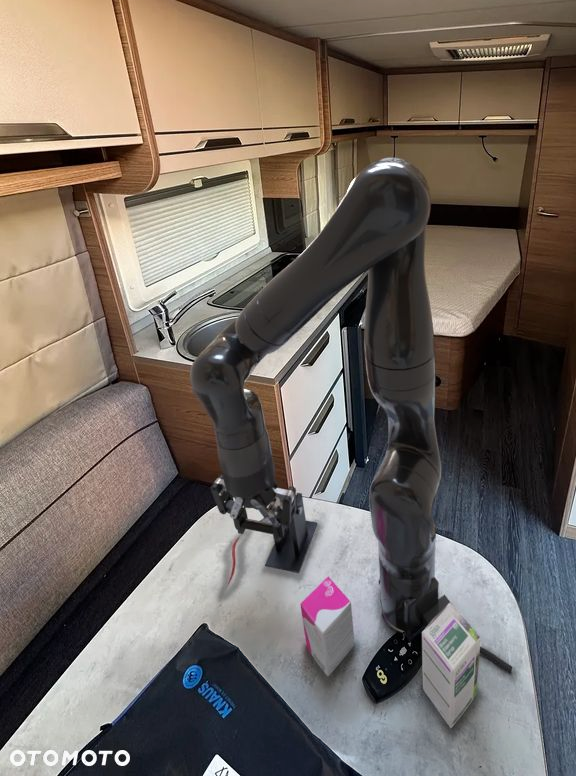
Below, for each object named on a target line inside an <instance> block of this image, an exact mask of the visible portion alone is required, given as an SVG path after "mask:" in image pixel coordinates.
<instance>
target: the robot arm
mask: <svg viewBox="0 0 576 776" xmlns="http://www.w3.org/2000/svg"><path fill="white" fill-rule="evenodd" d="M431 210H432V200H431V190H430V187H429V184H428V180H427V178H425V175H424V174H423V172H422V171H421V170H420V169H419V168H418V167H416V166H415V165H414V164H413V163H412V162H410V161H408V160H406V159H403V158H400V157H395V156H394V157H393V156H392V157H390V156H389V157H384V158H380V159H377V160H375V161H373V162H372V163H370V164H368V165H366V167H364V168H363V169H362V170H361V171H360V172H358V173H357V174H356V176H355V177H354V178H353V180H352V181H351V182H350V185H349V187H348V189H347V192H346V194H345V195H344V197H343V198H342V200H341V201H340V203H339V205H338V206H337V208H336V209H335V211H334V212H333V214H332V215H331V217H330V218H329V220H328V221H327V223H326V224H325V225H324V227H323V228H322V229H321V231H320V232H319V234H318V235H317V236H316V237H315V238H314V240H313V241H312V242H311V243H310V244H309V245H308V246H307V247H306V249H305V250H303V252H302V253H301V254H299V255H298V256H297V257H296V258H295V259H294V260H293V261H292V262H291V263H289V264H288V265H287V266H286V267H285V268H283V269H282V270H281V271H280V272H278V273H277V274H276V275H275V276H274V277H273V278H272V279H271V280H270V281H269V282H268V283H267V284H266V285H265V286H264V287H262V289H261V290H260V291H259V292H258V293H257V294H256V295H255V296H254V297H253V298H252V299H251V300H250V301H249V302H248V303H247V304H246V306H244V308H243V309H242V310H241V311H240V313H239V314H238V316H237V317H236V318H235V319H234V320H233V321H231V323H230V324H228V325H226V327H225V328H224V329H223V330H222V331H220V333H219V334H218V335H217V336H216V337H215V338H214V339H213V340H212V341H210V343H209V344H208V345H207V346H206V347H205V349H204V350H202V351H201V352H200V354H198V356H197V357H196V358H195V359H194V361H193V362H192V364H191V367H190V371H189V382H190V383H189V384H190V388H191V390H192V393H193V394H194V396H195V397H196V399H197V401H198V402H199V404H200V405H201V406H202V408H203V410H204V411H205V413H206V414H207V416H208V417H209V418H210V420H211V423H212V428H213V433H214V437H215V442H216V454H217V459H218V462H219V466H220V470H221V474H219V475H218V476H217V478H216V479H215V480H214V482H213V483H212V485H211V486H210V492H211V494H212V497H213V499H214V503H215V504H216V508H217V510H218V512H219V513H220V515H226V514H228V515H229V517H230V518H231V519H232V520H233V526H234V528H235V529H236V530H237V534H240V535H243V534H244V533H245V531H246V529H243V528H241V523H242V520H243V519H244V518H246V519H249V517H248V513H247V509H254V510H256V511H258V512H259V513H260V515H261V516H262V517H263V518H265V519H266V518H268V519H269V520H270V521H271V523H272V524H273V526H272V527H273V532H274V537H275V541H280V540H281V538H283V537H284V534H285V532H286V530H287V526H289V525H290V523H291V520H292V518H293V516H294V514H295V511H296V494H297V489H296V487H295V486H293V485H290V486H289V487H288V488H287V489H285V488H282V487H281V488H280V486H279V484H278V483H277V481H276V477H275V476H276V470H275V464H274V457H273V451H272V446H271V445H272V444H271V439H270V435H269V432H268V429H267V427H266V421H265V415H264V410H263V405H262V401H261V399H260V396H259V395H258V393H256V392H255V391H254V390H252V389H248V388H245V383H246V382H247V381H248V379H249V377H250V376H251V374H253V372H254V370H255V369H256V367H257V366H258V365H259V364H260V363H261V362H262V360H264V358H265V357H266V356H267V355H270V354H273V353H275V352H276V351H278V350H280V349H281V348H282V347H284V345H286V344H287V343H288V342H289V341H290V340H291V339H292V338H293V337H294V336H296V334H298V332H299V331H301V330H302V329H303V328H304V327H305V326H306V325H307V324H308V323H309V322H310V321H311V320H312V319H313V318H314V317H315V316H316V315H317V314H318V313H319V312H320V311H321V310H322V309H323V308H324V307H325V306H326V305H327V304H328V303H330V301H332V299H334V298H335V297H336V296H338V294H339V293H340V292H341V291H343V290H344V289H345V288H346V287H347V286H349V285H350V284H351V283H352V282H354V281H356V280H357V279H358V278H360V276H362V275H363V274H364V273H366V272H367V291H366V301H365V314H364V336H363V337H364V338H363V343H364V345H363V347H364V357H365V358H364V359H365V369H366V376H367V382H368V386H369V390H370V392H371V395H372V396H373V398H374V399H375V401H376V402H377V404H378V405H379V406H380V407H381V408H382V410H383V411H384V412H385V413H386V417H387V426H388V427H387V428H388V429H387V430H388V439H387V440H388V441H387V448H386V452H385V454H384V456H383V459H382V460H381V463H380V465H379V467H378V469H377V471H376V473H375V475H374V477H373V479H372V482H371V485H370V487H369V491H368V492H369V493H368V500H369V501H368V502H369V504H368V505H369V511H370V520H371V528H372V531H373V534H374V536H375V538H376V540H377V547H378V548H377V549H378V566H379V580H378V586H379V588H380V589H379V590H380V608H381V615H382V617H383V619H384V622H385V623H386V624H387V626H388V627H389V628H390V629H391V630H392V631H394V632H395V633H396V634H399V635H401V636H404V637H405V638H406V639H407V641H408V642H409V643H410V642H412V641H413V640H415V639H416V637H412V638H411V639H409V638H408V637H411V636H412V635H413V634H414V633H416V632H417V631H418V630H419V629H420V628H421V627H422V626H423V627H424V628H426V627H427V626H428V625H429V624H430V622H431V621H432V620H433V619H434V618H435V617H436V616H437V615H438V614H439V613H440V612H441V611H442V610H443V609H444V608H445V607H446V606H447V605H448V604H449V603H451V604H452V602H451V601H450V600H449V598H448V597H447V595H446V594H443V595H442V596H440V597H439V589H440V583H439V581H438V579H437V578H436V577H435V575H436V543H437V528H436V524H435V521H434V519H433V516H432V513H433V508H434V505H435V501H436V498H437V494H438V490H439V488H440V484H441V479H442V462H441V461H442V460H441V456H440V455H441V454H440V450H439V444H438V438H437V432H436V431H437V430H436V423H435V413H436V378H437V377H436V375H437V370H436V344H435V343H436V342H435V334H434V331H435V330H434V323H433V316H432V311H431V310H432V308H431V302H430V296H429V290H428V285H427V277H426V266H425V265H426V264H425V259H426V258H425V257H426V256H425V255H426V253H425V252H426V236H427V235H426V233H427V225H428V222H429V219H430V217H431ZM280 502H281V503H280ZM275 511H277V515H275ZM274 537H273V538H274ZM452 606H453V607H454V605H453V604H452ZM403 632H405V633H406V634H407V635H408V637H407V635H406V634H405V633H403ZM420 634H422V632H420ZM416 636H417V637H418V636H419V635H418V634H417V635H416ZM480 654H481V655H482V656H484V657H486V658H487V659H489V660H490V661H492V662H493V663H495V664H496V665H498V666H499V667H500V668H502V669H503V670H505V671H507V672H508V673H509V674H512V671H513V666H512V665H510V664H509V663H507V662H506V661H504V660H503V659H501V658H500V657H498V656H497V655H495V654H494V653H492V652H491V651H489V650H488V649H486V648H484V647H482V646H480ZM480 654H479V655H480Z"/></svg>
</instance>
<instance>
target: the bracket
mask: <svg viewBox="0 0 576 776" xmlns="http://www.w3.org/2000/svg"><path fill="white" fill-rule="evenodd" d="M304 505H305V504H304V499H303V494H302V493H301V492H296V511H295V514H294V516H293V518H292V520H291V523H290V525H289V526H287V530H286V532H285V534H284V537H283V538H281V540H280V541H275V537H274V535H273V534H272V536H273V543H274V544H273V546H272V548H271V550H270V552H269V555H268V557H267V559H266V561H265V563H264V566H265V567H270V568H273V569H278V570H283V571H288V572H292V573H296V574H300V572H301V569H302V567H303V564H304V562H305V558H306V555H307V554H308V550H309V547H310V546H311V542H312V539H313V538H314V537H313V536H314V534H315V531H316V528H317V526H318V522H316V521H310V520H307V518H306V512H305V506H304Z"/></svg>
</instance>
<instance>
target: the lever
mask: <svg viewBox="0 0 576 776" xmlns="http://www.w3.org/2000/svg"><path fill="white" fill-rule="evenodd" d="M280 503H281V502H280ZM275 515H277V511H275ZM272 526H273V524H272V523H271V521H270V520H269V519H268V518H266V519H265V518H264V517H263V518H261V519H260V520H257V519H251V518H248V519H246V518H244V519H243V520H242V523H241V528H243V529H245V530H249V531H254V532H260V533H264V534H269V535H272V536H273V535H274V532H273V527H272Z"/></svg>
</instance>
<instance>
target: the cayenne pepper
mask: <svg viewBox="0 0 576 776" xmlns="http://www.w3.org/2000/svg"><path fill="white" fill-rule="evenodd" d="M239 539H240V536H238V537H237V538H236V539H235V541H234V542H233V543H232V548H231V550H232V552H231V555H232V568H231V573H230V577H229V579H228V582H227V585H229V584H230V583H231V580H232V579H233V576H234V574H235V570H236V561H237V560H236V545H237V543H238V540H239Z"/></svg>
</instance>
